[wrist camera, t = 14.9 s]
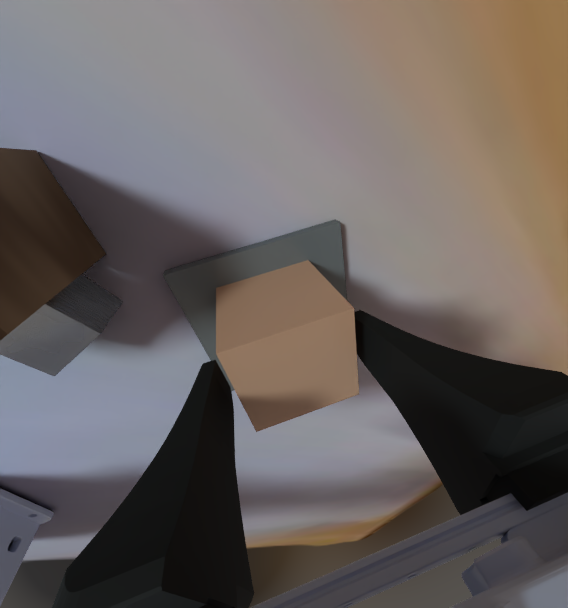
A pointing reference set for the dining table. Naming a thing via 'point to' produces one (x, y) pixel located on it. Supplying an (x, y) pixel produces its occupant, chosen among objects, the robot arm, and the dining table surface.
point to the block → (286, 343)
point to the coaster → (253, 273)
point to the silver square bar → (61, 327)
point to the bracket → (37, 238)
